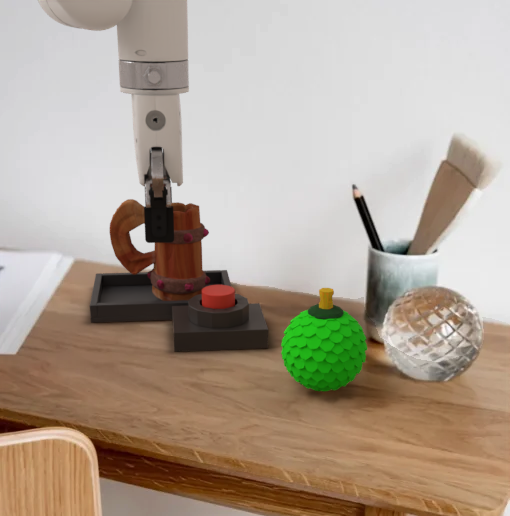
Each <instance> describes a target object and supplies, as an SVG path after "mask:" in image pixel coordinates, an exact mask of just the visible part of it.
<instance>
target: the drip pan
mask: <svg viewBox="0 0 510 516" xmlns="http://www.w3.org/2000/svg"><path fill="white" fill-rule="evenodd" d="M203 271H204V272H205V273H206V276H208V277H209V278H210V283H209V284H208V285H206V286H210V285H227V286H231V287H232V284H231V279H230V276H229V272H228V270H227V269H215V270H214V269H212V270H203ZM148 272H149V271H141V272H139V273H138V274H136V275H133V274H132V273H130V272H105V273H104V272H103V273H101V272H100V273H95V276H94V283H93V287H92V292H91V297H90V303H89V314H90V315H89V316H90V323H116V322H117V323H119V322H148V321H151V322H152V321H173V319H172V306H188V300H181V301H162V300H160V299H159V298H157V297H156V296H155V295H154V294H153V292H152V283H151V279H149V278H148V276H147V273H148ZM206 286H205V287H206Z"/></svg>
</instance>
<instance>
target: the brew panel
mask: <svg viewBox="0 0 510 516" xmlns="http://www.w3.org/2000/svg"><path fill="white" fill-rule="evenodd" d="M172 319H173V320H172V335H173V336H172V337H173V351H174V353H178V352H202V351H203V352H204V351H227V350H231V351H232V350H256V349H257V350H258V349H260V350H261V349H269V327H268V325H267V322H266V318H265V315H264V312H263V309H262V306H261V304H260V302H257V303H256V302H255V303H250V302H249V300H248V298H247V297H245V296H244V295H241V294H239V293H235V306H233V307H229V308H225V309H213V308H207V307H204V306H202V294H199V295H195V296H194V297H192V298H191V299H189V300H188V306H172Z"/></svg>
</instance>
